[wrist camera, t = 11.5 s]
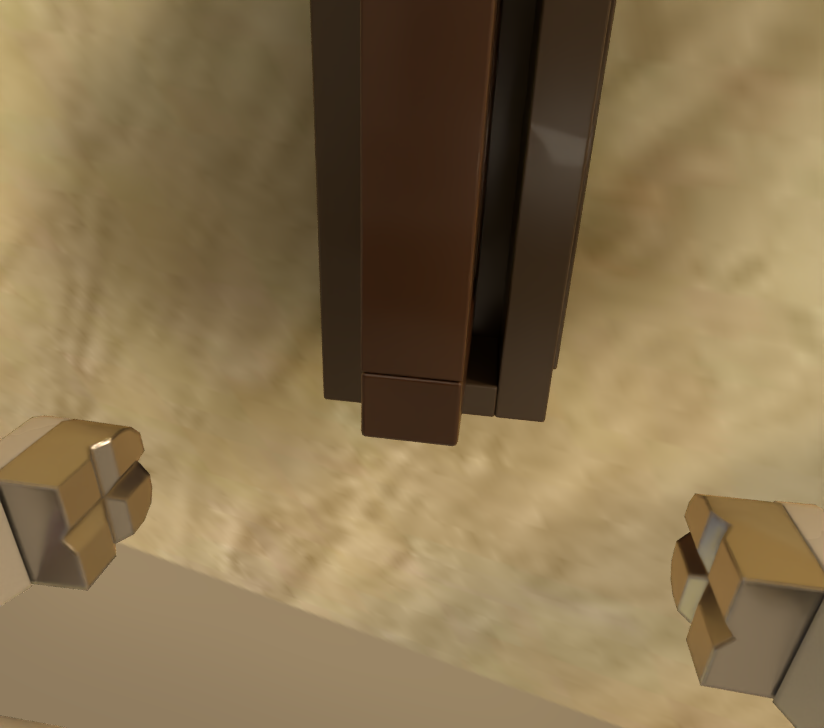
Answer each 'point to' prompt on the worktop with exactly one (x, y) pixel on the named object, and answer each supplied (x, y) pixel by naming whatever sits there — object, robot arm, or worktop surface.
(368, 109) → the frame
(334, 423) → the worktop surface
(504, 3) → the holder
